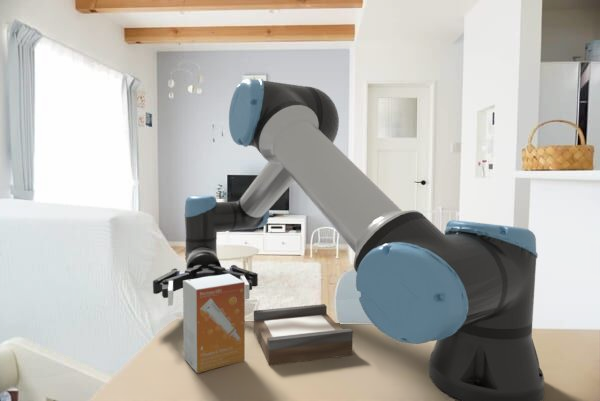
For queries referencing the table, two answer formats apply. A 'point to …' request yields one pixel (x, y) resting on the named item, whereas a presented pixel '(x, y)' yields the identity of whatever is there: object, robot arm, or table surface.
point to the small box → (214, 321)
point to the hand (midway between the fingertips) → (209, 294)
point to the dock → (300, 334)
